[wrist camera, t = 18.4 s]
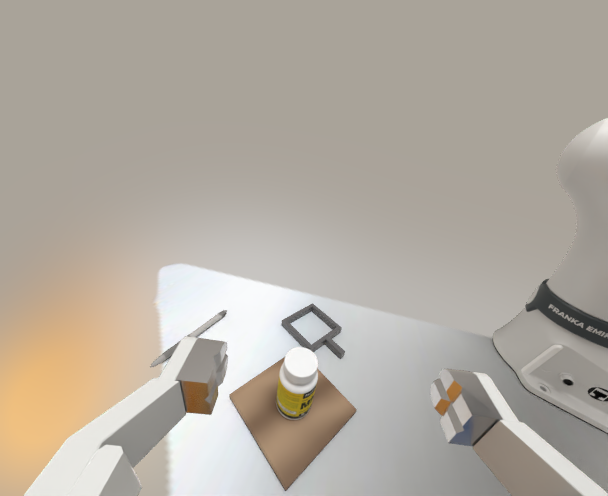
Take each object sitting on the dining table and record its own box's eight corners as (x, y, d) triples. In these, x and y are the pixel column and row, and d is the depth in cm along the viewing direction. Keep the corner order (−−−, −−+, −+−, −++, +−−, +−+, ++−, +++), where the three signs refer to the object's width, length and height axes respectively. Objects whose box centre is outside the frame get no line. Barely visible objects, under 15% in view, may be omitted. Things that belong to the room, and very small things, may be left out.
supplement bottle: (301, 429, 30) (310, 389, 26) (268, 408, 31) (272, 367, 27) (316, 394, 33) (327, 354, 29) (287, 377, 35) (292, 337, 31)
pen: (228, 315, 45) (228, 309, 44) (153, 373, 34) (151, 366, 34) (224, 313, 45) (224, 307, 45) (149, 369, 35) (147, 362, 34)
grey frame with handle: (355, 345, 42) (357, 341, 42) (326, 370, 37) (327, 365, 37) (311, 307, 49) (312, 303, 48) (281, 324, 44) (282, 320, 44)
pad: (355, 412, 33) (356, 409, 32) (285, 490, 25) (286, 488, 25) (297, 350, 40) (297, 348, 40) (229, 397, 32) (229, 394, 32)
